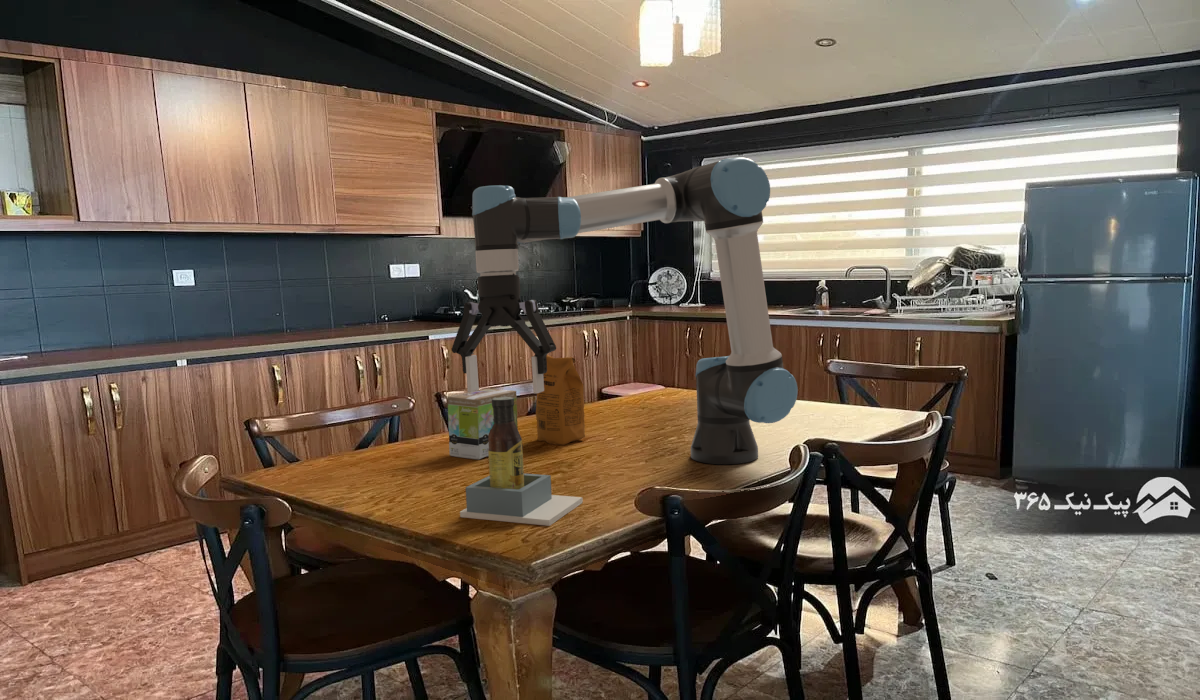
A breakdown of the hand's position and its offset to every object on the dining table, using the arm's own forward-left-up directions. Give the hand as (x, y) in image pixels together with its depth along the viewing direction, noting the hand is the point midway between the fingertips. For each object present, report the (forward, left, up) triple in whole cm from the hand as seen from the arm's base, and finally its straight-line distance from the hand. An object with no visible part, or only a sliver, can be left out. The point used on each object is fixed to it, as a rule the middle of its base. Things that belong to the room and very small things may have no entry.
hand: (505, 391), depth 144 cm
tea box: (+30, -41, -22) cm, 55 cm away
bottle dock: (-2, -1, -22) cm, 22 cm away
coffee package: (+17, -57, -22) cm, 63 cm away
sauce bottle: (+1, 0, -21) cm, 21 cm away
